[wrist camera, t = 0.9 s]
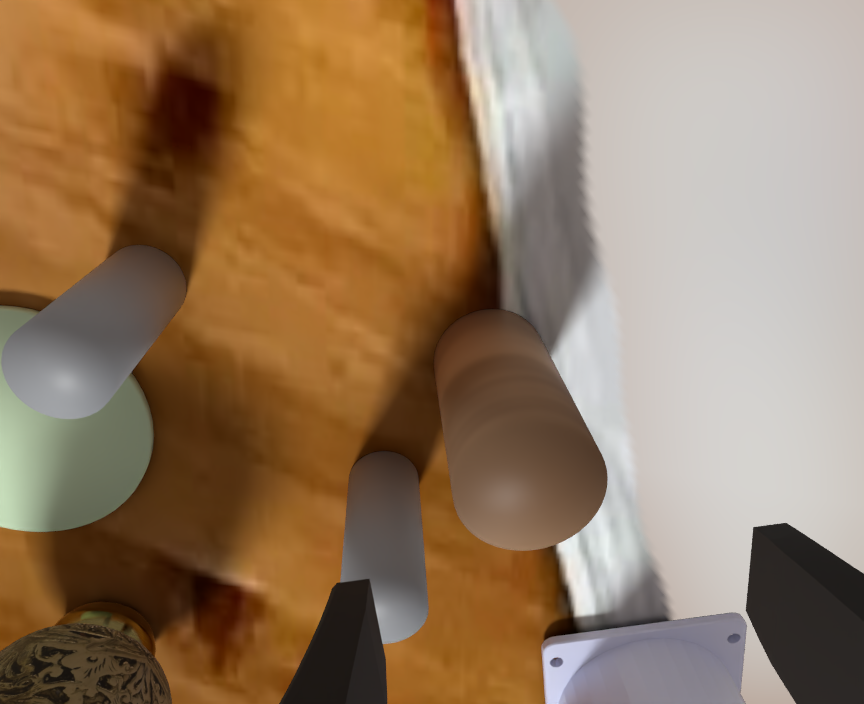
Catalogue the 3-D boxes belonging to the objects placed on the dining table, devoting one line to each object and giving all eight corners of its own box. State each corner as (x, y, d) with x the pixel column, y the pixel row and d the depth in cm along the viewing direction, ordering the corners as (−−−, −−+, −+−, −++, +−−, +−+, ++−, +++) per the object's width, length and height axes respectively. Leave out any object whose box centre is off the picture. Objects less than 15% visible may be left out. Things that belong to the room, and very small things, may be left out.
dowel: (547, 403, 23) (608, 539, 17) (440, 416, 23) (460, 559, 17) (541, 301, 22) (606, 410, 15) (427, 316, 22) (444, 431, 15)
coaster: (181, 507, 24) (178, 514, 24) (-50, 538, 24) (-57, 546, 24) (111, 289, 21) (106, 293, 20) (-158, 323, 21) (-168, 328, 20)
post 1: (195, 316, 21) (129, 411, 16) (116, 326, 21) (24, 425, 16) (174, 240, 20) (96, 313, 15) (92, 250, 20) (-16, 327, 15)
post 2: (422, 504, 25) (433, 637, 19) (354, 513, 25) (346, 649, 19) (413, 446, 24) (422, 569, 18) (343, 455, 24) (331, 581, 18)
